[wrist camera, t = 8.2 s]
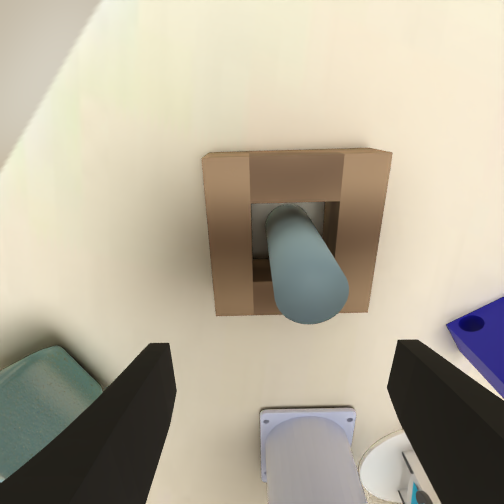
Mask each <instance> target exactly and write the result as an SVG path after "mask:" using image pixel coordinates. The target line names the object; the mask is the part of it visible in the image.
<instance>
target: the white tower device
mask: <svg viewBox="0 0 504 504" xmlns="http://www.w3.org/2000/svg"><path fill="white" fill-rule="evenodd" d="M359 476H360V479H361V482H362V484H363V486H364V487H365V489H366V490H367V491H368V492H370V493H371V494H372V495H374V496H376V497H378V498H380V499H383V500H386V501H390V502H396V503H403V504H441V502H440V500H439V498H438V496H437V494H436V493H435V491H434V489H433V487H432V485H431V483H430V481H429V479H428V477H427V475H426V473H425V471H424V469H423V467H422V465H421V463H420V461H419V459H418V457H417V456H416V454H415V452H414V450H413V448H412V446H411V444H410V442H409V440H408V438H407V436H406V434H405V432H404V430H403V429H402V430H399V431H396V432H393V433H391V434H389V435H387V436H385V437H384V438H382V439H380V440H379V441H377V442H376V443H375V444H373V445H372V446H371V447H370V448H369V449H368V450H367V452H366V453H365V454H364V456H363V457H362V459H361V462H360V465H359Z"/></svg>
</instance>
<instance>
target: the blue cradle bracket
mask: <svg viewBox="0 0 504 504" xmlns="http://www.w3.org/2000/svg"><path fill="white" fill-rule="evenodd" d="M446 326H447V327H448V329H449V331H450V333H451V335H452V337H453V339H454V341H455V343H456V345H457V346H458V348H459V350H460V352H461V353H462V354H463V355H464V356H465V357H466V358H467V359H468V360H469V361H470V362H471V364H472V365H473V366H474V367H475V368H476V369H477V370H478V371H479V372H480V373H481V374H482V376H483V377H484V378H485V379H486V380H487V381H488V382H489V383H490V384H491V385H492V386H493V387H494V389H495V390H496V391H497V392H498V393H499V394H500V395H501V396H502V397H503V398H504V297H502V298H500V299H498V300H496V301H494V302H492V303H490V304H487V305H485V306H483V307H481V308H479V309H477V310H475V311H473V312H471V313H469V314H467V315H465V316H463V317H460V318H458V319H456V320H454V321H452V322H450V323H448V324H446Z"/></svg>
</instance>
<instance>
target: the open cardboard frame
mask: <svg viewBox="0 0 504 504" xmlns="http://www.w3.org/2000/svg"><path fill="white" fill-rule="evenodd" d="M391 160H392V152H387V151H382V150H377V149H372V148H350V149H315V150H280V151H245V152H211V153H208V154H207V155H205V156H204V157H202V169H203V180H204V191H205V202H206V213H207V224H208V235H209V245H210V256H211V267H212V278H213V289H214V300H215V311H216V316H242V315H282V313H281V312H280V310H279V309H278V307H277V305H276V302H275V297H274V290H273V282H272V274H271V267H270V259H254V260H253V259H252V225H251V204H256V203H292V202H325V211H324V225H323V238H322V239H323V241H324V242H325V244H326V245H327V247H328V249H329V250H330V252H331V254H332V255H333V257H334V258H335V260H336V262H337V263H338V265H339V267H340V268H341V270H342V271H343V273H344V275H345V276H346V278H347V281H348V285H349V295H348V299H347V301H346V303H345V305H344V307H343V308H342V309H341V311H340V312H339V313H363V312H368V307H369V301H370V294H371V288H372V281H373V275H374V269H375V262H376V256H377V249H378V243H379V237H380V230H381V224H382V217H383V211H384V205H385V198H386V192H387V185H388V179H389V173H390V166H391Z"/></svg>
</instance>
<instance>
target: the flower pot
mask: <svg viewBox="0 0 504 504" xmlns="http://www.w3.org/2000/svg"><path fill="white" fill-rule="evenodd" d="M102 393H103V392H102V388H101V386H100V385H99V383H98V382H97V381H96V380H94V379H93V378H92V377H91V376H90V375H89V374H88V373H87V372H86V371H85V370H84V369H83V368H82V367H81V366H80V365H79V364H78V363H77V362H76V361H75V360H74V359H73V358H72V357H71V356H70V355H69V354H68V353H67V352H66V351H65V350H64V349H63V348H62V347H60V346H52V347H49V348H45V349H42V350H40V351H38V352H35V353H33V354H31V355H29V356H27V357H25V358H23V359H22V360H20V361H18V362H16V363H14V364H12V365H10V366H8V367H6V368H4V369H2V370H0V483H1V482H3V481H4V480H5V479H6V478H8V477H9V476H10V475H12V474H13V473H14V472H15V471H17V470H18V469H19V468H20V467H21V466H23V465H24V464H25V463H26V462H27V461H29V460H30V459H31V458H32V457H33V456H35V455H36V454H37V453H38V452H39V451H41V450H42V449H43V448H44V447H45V446H46V445H48V444H49V443H50V442H51V441H52V440H53V439H54V438H55V437H57V436H58V435H59V434H60V433H61V432H62V431H63V430H64V429H65V428H66V427H67V426H69V425H70V424H71V423H72V422H73V421H74V420H75V419H76V418H77V417H78V416H79V415H80V414H81V413H82V412H83V411H84V410H85V409H87V408H88V407H89V406H90V405H91V404H92V403H93V402H94V401H95V400H96V399H97V398H98V397H99V396H100V395H101V394H102Z"/></svg>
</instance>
